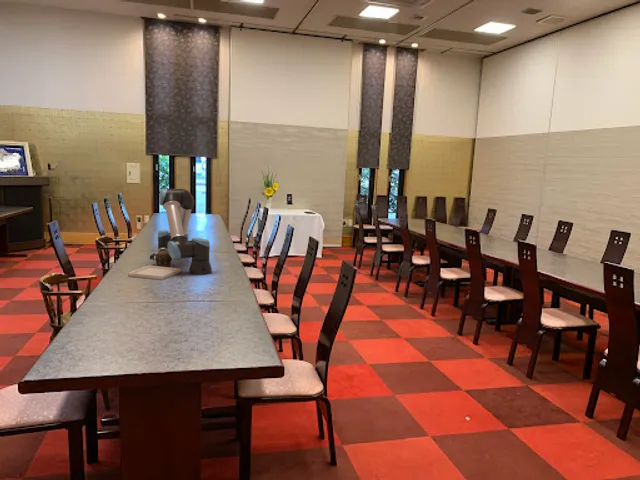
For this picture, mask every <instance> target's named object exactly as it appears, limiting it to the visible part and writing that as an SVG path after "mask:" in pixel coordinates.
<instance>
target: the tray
mask: <svg viewBox="0 0 640 480" xmlns="http://www.w3.org/2000/svg"><path fill="white" fill-rule="evenodd" d="M181 272H182V268H178V267H171V266H170V267H159V266H157V265H146V266H142V267H140V268H137V269H135V270H132V271H130V272H127V277H128V278H136V279H137V278H139V279H148V280H157V281H158V280H159V281H164V280H167V279H168V277H169V278H171V277H172V276H175V275H178V274H180V273H181Z"/></svg>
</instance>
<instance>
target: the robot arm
mask: <svg viewBox="0 0 640 480" xmlns="http://www.w3.org/2000/svg"><path fill="white" fill-rule="evenodd" d="M158 197H159V199H158V202H159V203H158V204H159V205H160V206H162V208H163V210H165V213H166V216H167V217H166V218H167V222H168V223H167V224H168V228H169V231H168V230H167V229H166V230H165V229H161V230H158V232H157V253H158V252H159V251H165V250H168V252H169V255H170V257H171V258H172V261H171V262H174V260H180V259H191V262H190V266H189V269H188V273H189V274H192V275H201V276H202V275H210V274H212V273H213V268H212V266H211V265H212V264H211V261H210V241H209V239H206V238H202V237H192V238H191V240H189V233H188V227H189V222H190V218H191V213H192V210H193V209H194V206H195V200H194V196H193V195H192V193H191V192H190V191H189V190H188V189H185V188H161V190H160V192H159V195H158ZM157 253H153V254H151V255H149V260H152V261H154V262H155V263H156V260H155V258H156V254H157Z"/></svg>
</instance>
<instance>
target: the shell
mask: <svg viewBox="0 0 640 480" xmlns="http://www.w3.org/2000/svg"><path fill="white" fill-rule="evenodd" d="M155 254H156V258H155V263H156V266H159V267H170V268H171V265H172V262H173V261H172V258H171V257H170V255H169V252H168V250H165V251H159V252H158V251H157V253H155Z"/></svg>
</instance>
